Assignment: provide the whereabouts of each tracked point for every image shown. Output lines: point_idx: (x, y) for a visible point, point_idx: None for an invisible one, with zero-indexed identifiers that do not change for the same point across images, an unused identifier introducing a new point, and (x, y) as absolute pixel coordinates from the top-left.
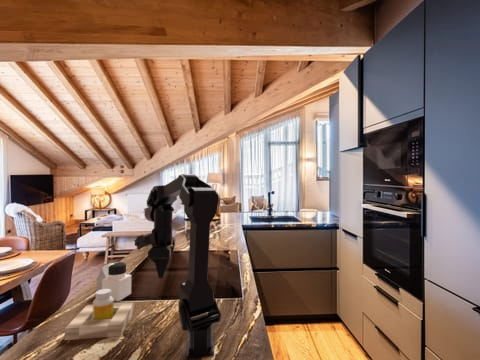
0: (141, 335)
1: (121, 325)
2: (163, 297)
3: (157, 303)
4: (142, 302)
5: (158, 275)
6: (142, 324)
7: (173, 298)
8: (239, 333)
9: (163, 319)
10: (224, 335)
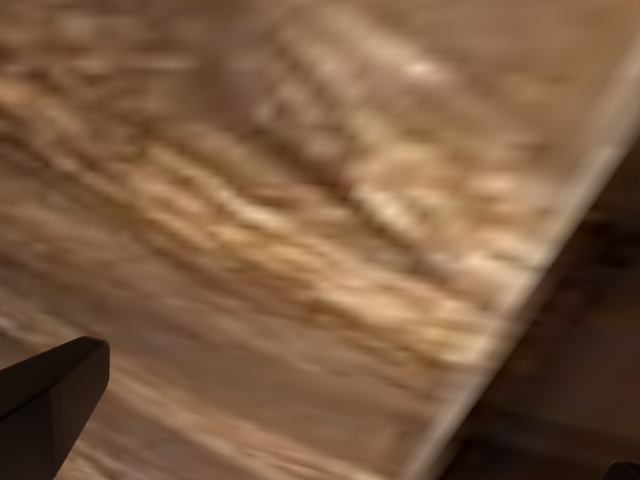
0: (54, 47)
1: None
2: (608, 239)
3: (512, 184)
4: (609, 59)
5: (30, 362)
6: (198, 56)
7: (541, 303)
8: None
9: (231, 200)
10: None
